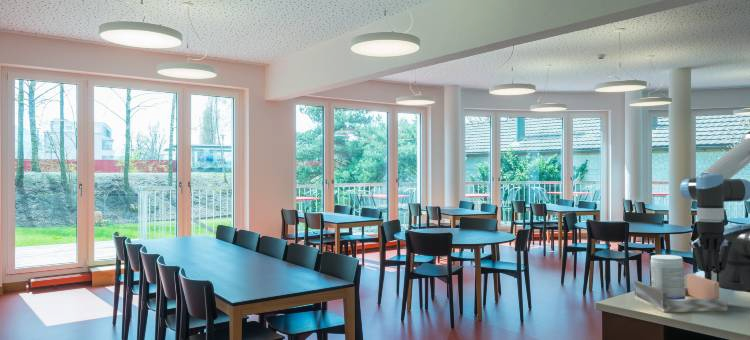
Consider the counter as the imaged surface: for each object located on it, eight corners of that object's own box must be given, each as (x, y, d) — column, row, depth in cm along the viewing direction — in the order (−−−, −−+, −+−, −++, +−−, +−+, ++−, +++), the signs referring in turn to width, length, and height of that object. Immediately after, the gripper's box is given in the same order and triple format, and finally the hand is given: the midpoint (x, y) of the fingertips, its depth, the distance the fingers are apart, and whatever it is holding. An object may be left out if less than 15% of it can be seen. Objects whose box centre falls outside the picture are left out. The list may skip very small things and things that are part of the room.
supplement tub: (691, 301, 169) (689, 256, 169) (676, 306, 163) (674, 260, 163) (660, 296, 177) (659, 253, 177) (645, 300, 171) (644, 256, 171)
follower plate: (692, 294, 177) (691, 273, 177) (719, 304, 163) (718, 282, 163) (687, 294, 177) (687, 274, 177) (714, 305, 163) (714, 282, 163)
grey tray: (692, 296, 179) (691, 279, 179) (727, 310, 161) (726, 291, 161) (634, 298, 178) (634, 281, 178) (663, 312, 161) (663, 293, 161)
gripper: (722, 219, 174) (723, 289, 173) (683, 219, 173) (685, 290, 173) (738, 221, 166) (739, 294, 166) (698, 222, 166) (699, 295, 166)
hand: (712, 292), depth 170 cm, fingers closed
